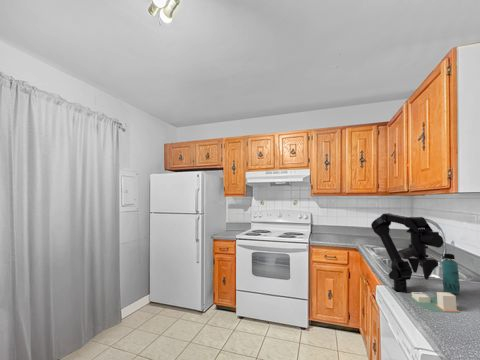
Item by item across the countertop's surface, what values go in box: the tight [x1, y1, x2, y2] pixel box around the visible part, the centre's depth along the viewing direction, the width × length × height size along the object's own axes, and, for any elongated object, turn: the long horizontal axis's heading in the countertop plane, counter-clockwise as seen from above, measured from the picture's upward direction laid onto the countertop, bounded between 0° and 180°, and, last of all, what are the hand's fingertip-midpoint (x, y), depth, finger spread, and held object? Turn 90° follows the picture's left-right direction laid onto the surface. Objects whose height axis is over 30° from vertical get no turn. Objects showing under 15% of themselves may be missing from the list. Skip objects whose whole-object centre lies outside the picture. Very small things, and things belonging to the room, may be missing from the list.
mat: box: [407, 295, 461, 314], centre depth 111 cm, size 16×13×1 cm
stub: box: [436, 291, 458, 310], centre depth 106 cm, size 4×5×6 cm
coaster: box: [435, 304, 461, 313], centre depth 106 cm, size 6×6×1 cm
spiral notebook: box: [411, 291, 431, 303], centre depth 115 cm, size 6×5×2 cm
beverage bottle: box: [441, 253, 461, 294], centre depth 122 cm, size 6×7×20 cm
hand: (420, 275), depth 115 cm, fingers open, 9 cm apart
